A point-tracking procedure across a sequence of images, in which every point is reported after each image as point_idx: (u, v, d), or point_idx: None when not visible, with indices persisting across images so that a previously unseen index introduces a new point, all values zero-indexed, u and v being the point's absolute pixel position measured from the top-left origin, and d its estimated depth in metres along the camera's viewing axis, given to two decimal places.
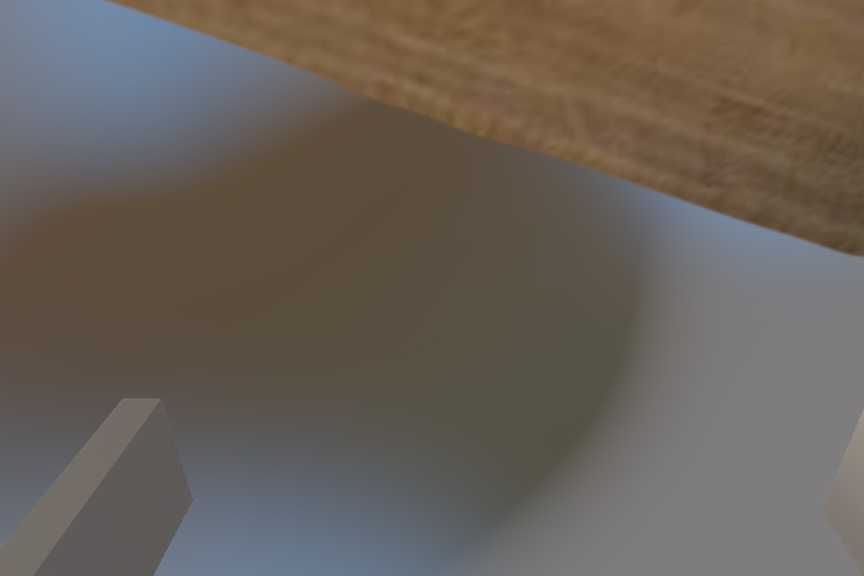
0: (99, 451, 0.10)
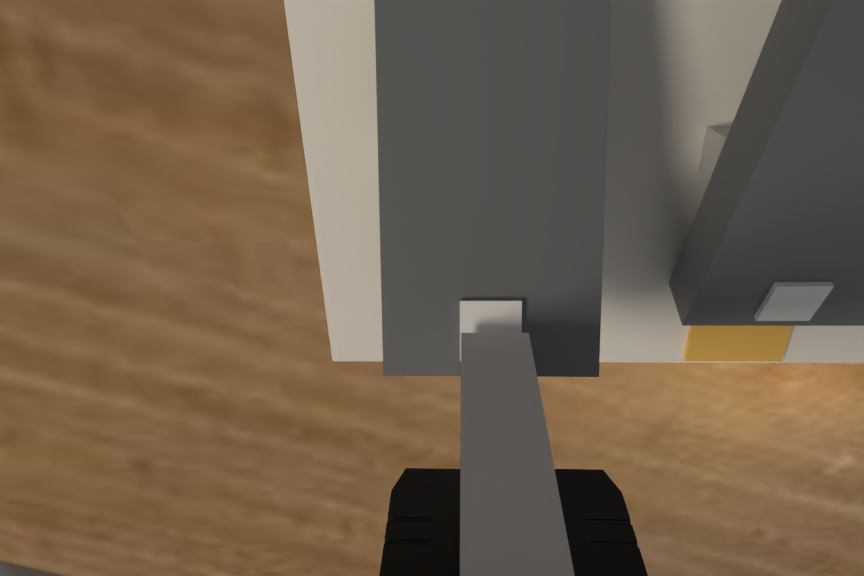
0: (477, 369, 0.11)
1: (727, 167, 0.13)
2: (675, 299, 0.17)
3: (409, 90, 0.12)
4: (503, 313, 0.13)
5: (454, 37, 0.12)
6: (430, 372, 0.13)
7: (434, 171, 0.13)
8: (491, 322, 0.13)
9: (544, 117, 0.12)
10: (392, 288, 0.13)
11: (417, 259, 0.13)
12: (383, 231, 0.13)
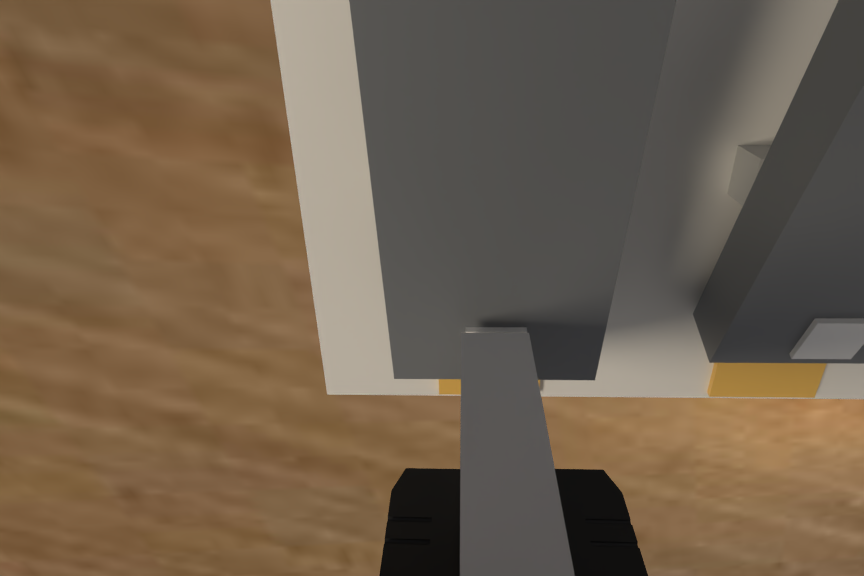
0: (477, 369, 0.11)
1: (765, 193, 0.12)
2: (701, 333, 0.15)
3: (405, 140, 0.10)
4: None
5: (460, 79, 0.10)
6: (438, 377, 0.14)
7: (437, 221, 0.11)
8: None
9: (565, 169, 0.11)
10: (398, 318, 0.13)
11: (421, 296, 0.13)
12: (385, 272, 0.12)
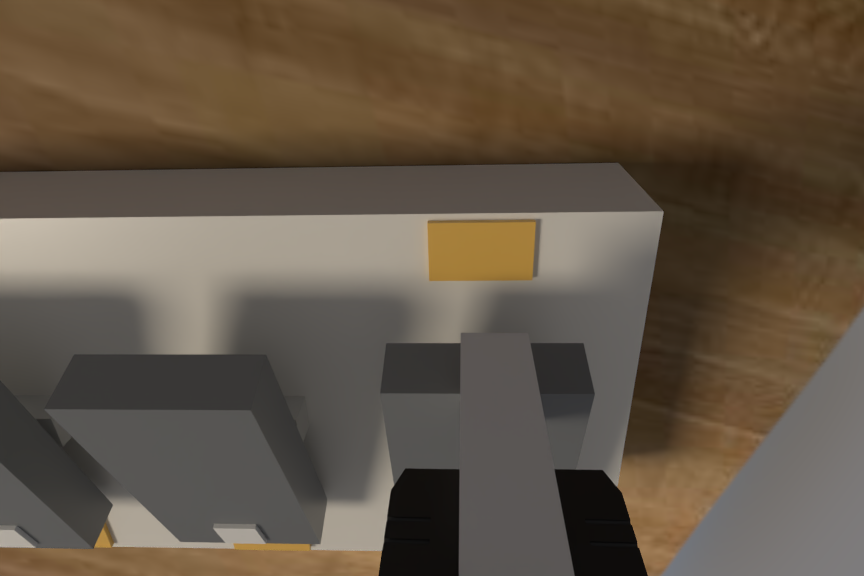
0: (476, 370, 0.11)
1: None
2: None
3: None
4: (7, 533, 0.19)
5: None
6: None
7: None
8: (2, 536, 0.19)
9: None
10: None
11: None
12: None
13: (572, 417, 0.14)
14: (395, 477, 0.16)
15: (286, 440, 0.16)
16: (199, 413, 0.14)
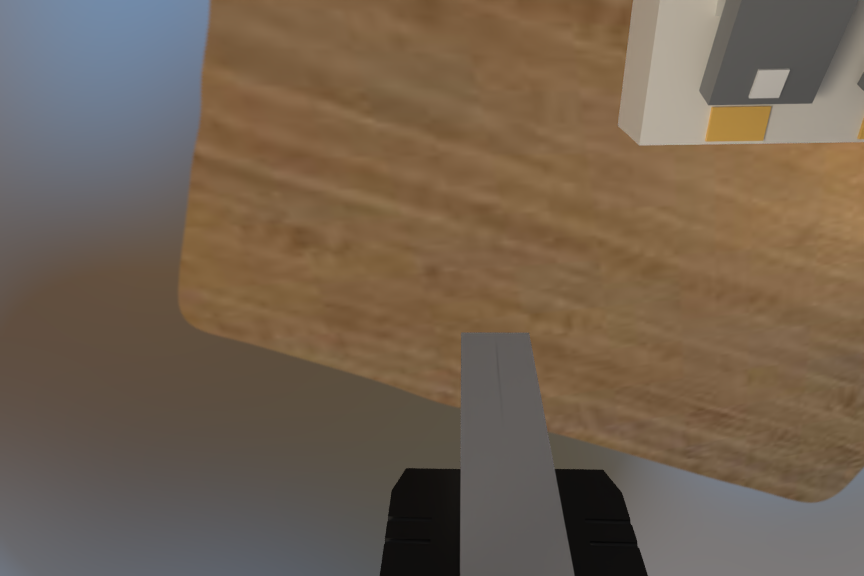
0: (477, 370, 0.11)
1: None
2: None
3: None
4: (779, 76, 0.27)
5: None
6: (731, 103, 0.28)
7: (769, 4, 0.25)
8: (771, 80, 0.27)
9: None
10: (726, 64, 0.27)
11: (744, 49, 0.27)
12: (731, 35, 0.26)
13: None
14: None
15: None
16: None
